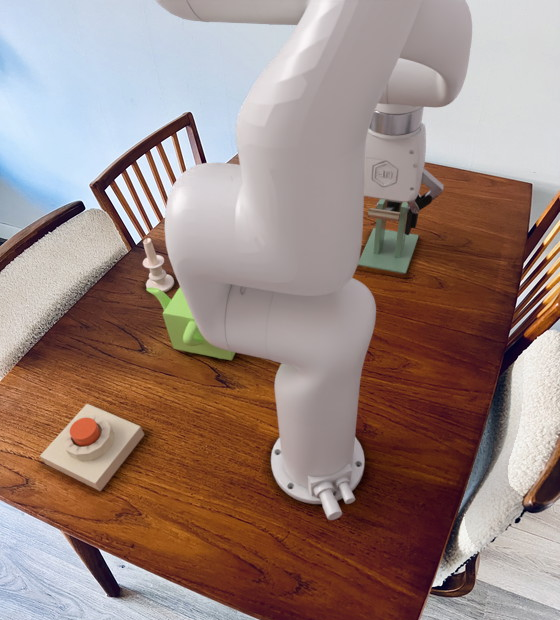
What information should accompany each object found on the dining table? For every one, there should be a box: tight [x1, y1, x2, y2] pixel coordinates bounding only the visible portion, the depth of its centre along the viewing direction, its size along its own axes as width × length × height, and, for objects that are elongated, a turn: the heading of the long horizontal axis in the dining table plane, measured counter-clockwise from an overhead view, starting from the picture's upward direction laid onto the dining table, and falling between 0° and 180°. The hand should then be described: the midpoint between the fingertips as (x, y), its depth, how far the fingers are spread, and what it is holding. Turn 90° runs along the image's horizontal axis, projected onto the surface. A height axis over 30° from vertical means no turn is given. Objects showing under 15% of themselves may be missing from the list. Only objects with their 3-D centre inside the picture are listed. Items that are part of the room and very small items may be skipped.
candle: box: [142, 237, 175, 293], centre depth 94 cm, size 5×5×10 cm
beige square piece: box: [39, 403, 145, 492], centre depth 73 cm, size 10×10×4 cm
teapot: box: [145, 286, 236, 361], centre depth 83 cm, size 15×13×11 cm
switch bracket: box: [357, 199, 420, 275], centre depth 95 cm, size 12×9×12 cm
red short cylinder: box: [70, 418, 100, 446], centre depth 71 cm, size 4×4×2 cm
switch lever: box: [367, 200, 403, 223], centre depth 88 cm, size 12×5×2 cm, turn 159°
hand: (382, 225), depth 85 cm, fingers open, 7 cm apart
